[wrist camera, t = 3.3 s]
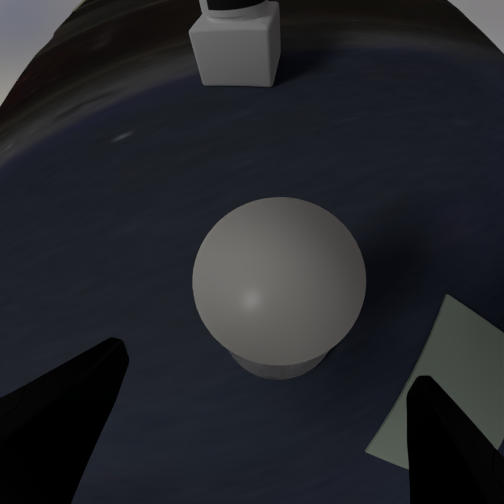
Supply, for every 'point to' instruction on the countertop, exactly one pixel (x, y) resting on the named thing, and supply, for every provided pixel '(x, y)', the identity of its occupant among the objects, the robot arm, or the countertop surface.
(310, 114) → the countertop surface
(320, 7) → the countertop surface
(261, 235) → the grey rounded post
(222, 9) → the medicine bottle
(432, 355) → the mat
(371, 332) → the countertop surface
